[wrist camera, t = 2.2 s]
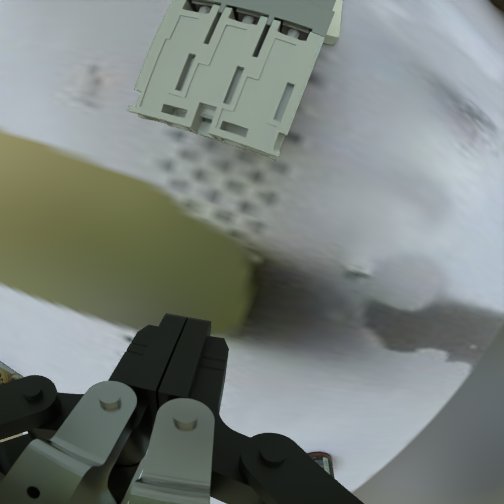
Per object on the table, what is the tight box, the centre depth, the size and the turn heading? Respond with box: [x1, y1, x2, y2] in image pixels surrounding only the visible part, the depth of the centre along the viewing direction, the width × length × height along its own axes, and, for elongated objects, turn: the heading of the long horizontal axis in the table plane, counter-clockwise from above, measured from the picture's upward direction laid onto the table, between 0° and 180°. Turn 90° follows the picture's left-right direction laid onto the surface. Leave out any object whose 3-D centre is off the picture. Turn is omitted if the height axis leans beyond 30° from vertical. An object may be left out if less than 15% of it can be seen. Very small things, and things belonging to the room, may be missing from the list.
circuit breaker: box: [127, 0, 336, 160], centre depth 18 cm, size 8×14×15 cm, turn 160°
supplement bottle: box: [308, 452, 334, 478], centre depth 37 cm, size 6×6×11 cm
